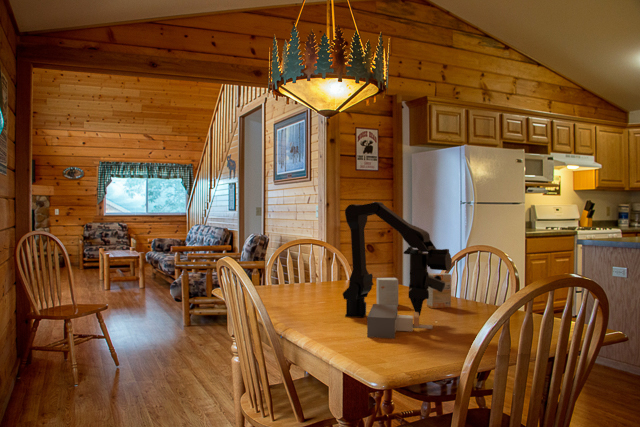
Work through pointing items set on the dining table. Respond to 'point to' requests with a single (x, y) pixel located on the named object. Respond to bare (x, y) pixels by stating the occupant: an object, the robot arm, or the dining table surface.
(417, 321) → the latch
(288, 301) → the dining table surface
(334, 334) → the dining table surface
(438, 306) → the supplement box
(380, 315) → the grey block
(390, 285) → the small box
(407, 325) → the plug
